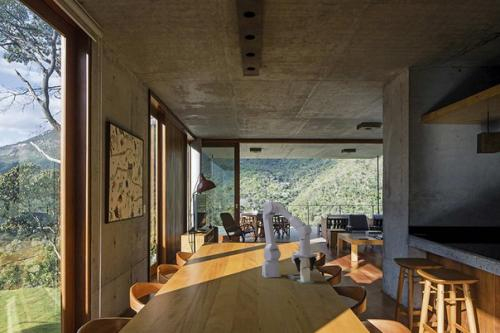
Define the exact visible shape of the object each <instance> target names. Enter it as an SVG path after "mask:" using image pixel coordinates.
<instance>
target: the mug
mask: <svg viewBox="0 0 500 333" xmlns="http://www.w3.org/2000/svg"><path fill="white" fill-rule="evenodd" d="M295 250H296V251H292V253H291V256H290V258H291V262H292V265H293V264H294V265H296V264H295V261H294V259H293V258H292V255H297V254H300V248H296V249H295ZM299 259H300V260H301V263H300V267H307V258H299Z"/></svg>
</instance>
